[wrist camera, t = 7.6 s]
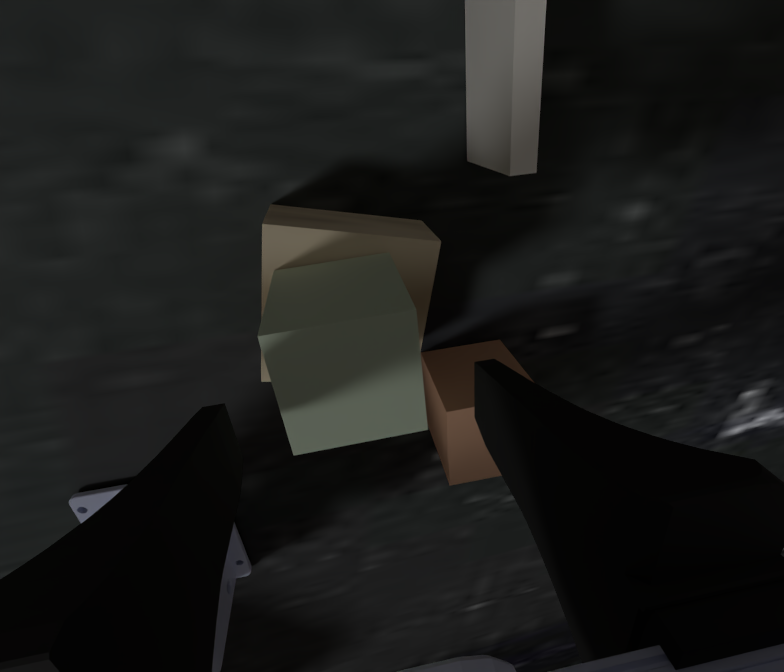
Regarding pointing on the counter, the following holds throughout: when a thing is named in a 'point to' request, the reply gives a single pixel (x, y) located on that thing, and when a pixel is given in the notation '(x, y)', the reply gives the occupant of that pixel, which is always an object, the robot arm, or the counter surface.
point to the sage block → (343, 353)
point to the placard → (504, 83)
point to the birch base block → (349, 248)
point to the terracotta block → (460, 407)
